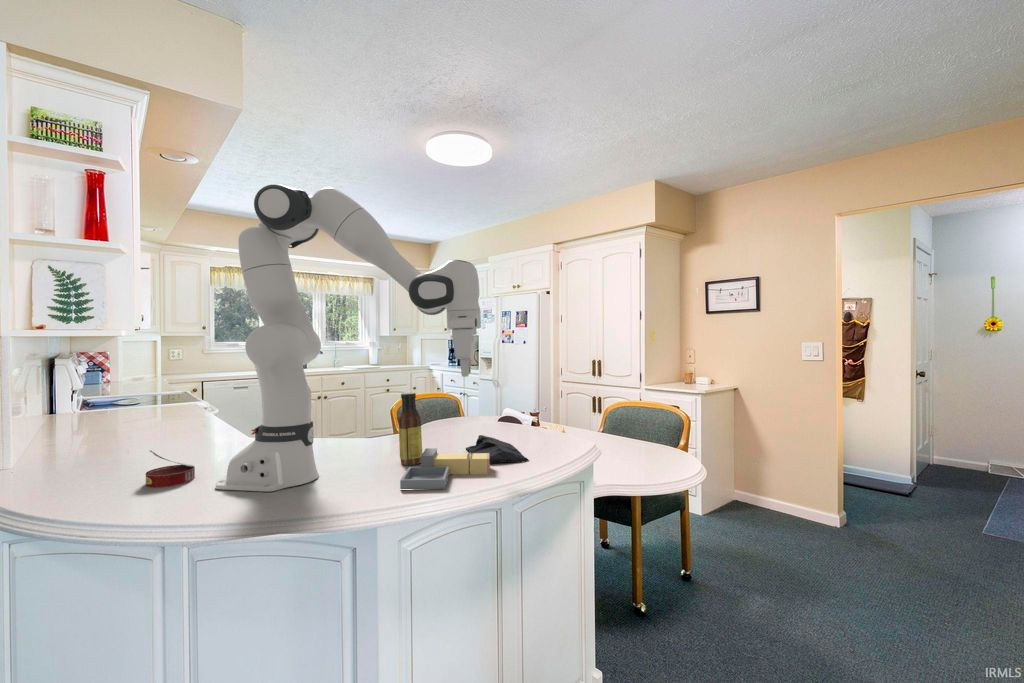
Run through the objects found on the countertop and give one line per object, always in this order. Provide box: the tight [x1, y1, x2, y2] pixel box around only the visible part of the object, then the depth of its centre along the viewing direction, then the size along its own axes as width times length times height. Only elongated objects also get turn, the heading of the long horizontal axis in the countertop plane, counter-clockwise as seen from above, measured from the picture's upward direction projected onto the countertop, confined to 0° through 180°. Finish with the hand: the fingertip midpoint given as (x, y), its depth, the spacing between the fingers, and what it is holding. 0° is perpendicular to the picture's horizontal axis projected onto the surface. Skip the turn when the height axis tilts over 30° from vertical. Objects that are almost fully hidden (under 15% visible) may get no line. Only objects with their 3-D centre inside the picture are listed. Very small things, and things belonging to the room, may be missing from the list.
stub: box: [469, 453, 491, 475], centre depth 121 cm, size 5×6×4 cm
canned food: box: [145, 450, 196, 489], centre depth 114 cm, size 11×10×10 cm
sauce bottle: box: [398, 392, 423, 466], centre depth 129 cm, size 7×6×20 cm
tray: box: [399, 466, 450, 490], centre depth 111 cm, size 10×11×2 cm
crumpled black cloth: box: [465, 434, 529, 464], centre depth 138 cm, size 15×22×5 cm
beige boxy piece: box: [420, 447, 471, 475], centre depth 121 cm, size 12×8×5 cm, turn 92°
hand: (466, 375), depth 120 cm, fingers open, 8 cm apart
